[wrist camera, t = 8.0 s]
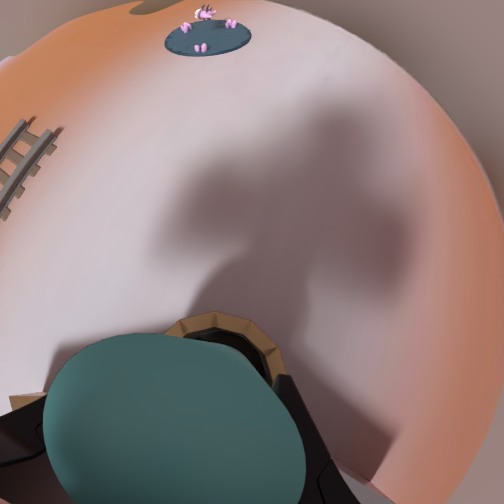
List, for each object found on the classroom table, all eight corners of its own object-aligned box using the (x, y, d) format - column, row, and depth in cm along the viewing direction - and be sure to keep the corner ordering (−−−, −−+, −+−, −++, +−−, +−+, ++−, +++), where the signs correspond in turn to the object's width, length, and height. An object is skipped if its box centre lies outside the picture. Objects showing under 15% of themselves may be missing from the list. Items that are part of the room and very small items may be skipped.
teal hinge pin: (217, 432, 13) (180, 580, 2) (161, 378, 14) (11, 425, 3) (272, 381, 15) (361, 460, 3) (215, 327, 15) (155, 272, 4)
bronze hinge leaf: (137, 505, 14) (119, 531, 9) (39, 395, 16) (5, 399, 12) (298, 372, 18) (314, 379, 14) (177, 254, 20) (163, 231, 16)
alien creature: (171, 26, 32) (167, -7, 26) (249, 22, 33) (250, -12, 27) (158, 63, 28) (149, 22, 22) (253, 57, 29) (256, 14, 23)
